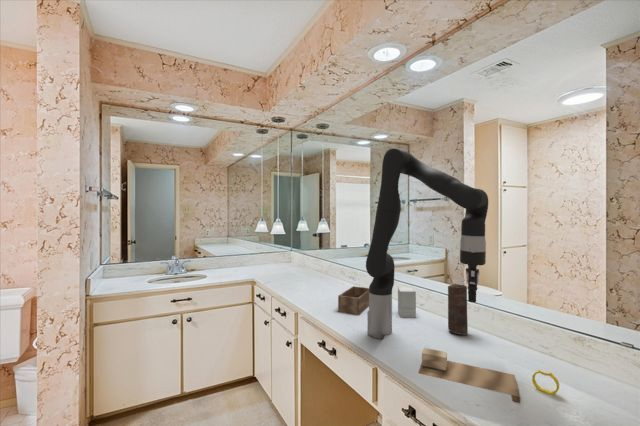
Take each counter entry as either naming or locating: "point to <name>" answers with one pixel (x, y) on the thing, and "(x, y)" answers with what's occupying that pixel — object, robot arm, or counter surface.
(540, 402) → the counter surface
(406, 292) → the supplement box
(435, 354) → the block
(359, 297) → the open wooden box
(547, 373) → the yellow wavy ring
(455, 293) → the rusty brown cylinder
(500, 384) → the board
